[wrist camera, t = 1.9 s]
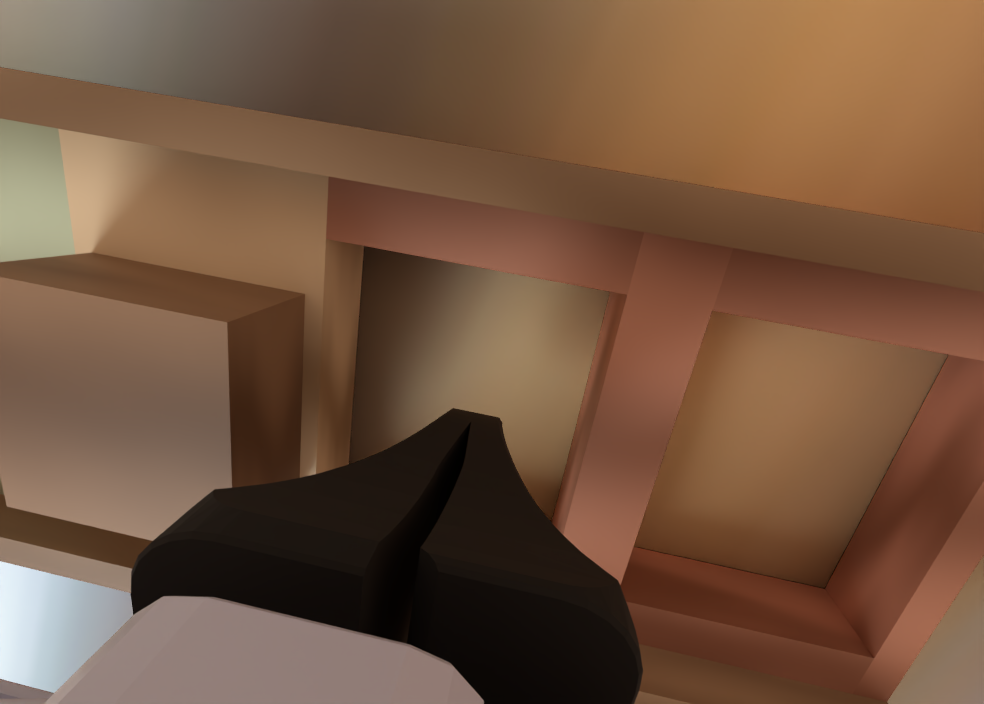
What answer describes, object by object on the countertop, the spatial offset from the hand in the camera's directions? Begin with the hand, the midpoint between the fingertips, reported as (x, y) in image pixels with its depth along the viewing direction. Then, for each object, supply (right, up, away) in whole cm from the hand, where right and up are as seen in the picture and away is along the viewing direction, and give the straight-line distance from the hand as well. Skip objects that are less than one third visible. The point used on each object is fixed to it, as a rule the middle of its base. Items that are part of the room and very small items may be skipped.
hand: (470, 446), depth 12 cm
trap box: (-2, +2, +3) cm, 4 cm away
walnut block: (-8, +2, +1) cm, 8 cm away
